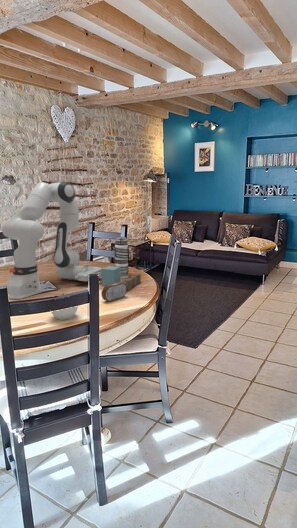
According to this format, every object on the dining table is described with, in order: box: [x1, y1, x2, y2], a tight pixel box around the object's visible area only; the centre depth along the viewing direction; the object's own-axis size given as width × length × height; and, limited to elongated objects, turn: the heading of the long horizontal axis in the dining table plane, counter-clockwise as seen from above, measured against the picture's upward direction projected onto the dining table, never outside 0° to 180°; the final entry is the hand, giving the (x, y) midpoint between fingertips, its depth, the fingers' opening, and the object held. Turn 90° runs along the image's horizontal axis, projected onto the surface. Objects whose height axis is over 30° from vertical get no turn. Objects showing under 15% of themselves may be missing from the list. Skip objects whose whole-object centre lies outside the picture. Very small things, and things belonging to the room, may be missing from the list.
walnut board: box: [121, 273, 142, 293], centre depth 202 cm, size 22×3×5 cm, turn 159°
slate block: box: [101, 265, 122, 287], centre depth 206 cm, size 8×8×10 cm
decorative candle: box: [113, 236, 130, 279], centre depth 223 cm, size 9×9×25 cm
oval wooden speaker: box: [101, 281, 128, 302], centre depth 180 cm, size 15×3×8 cm, turn 136°
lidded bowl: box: [50, 292, 79, 321], centre depth 156 cm, size 13×13×11 cm
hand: (102, 275), depth 208 cm, fingers closed
